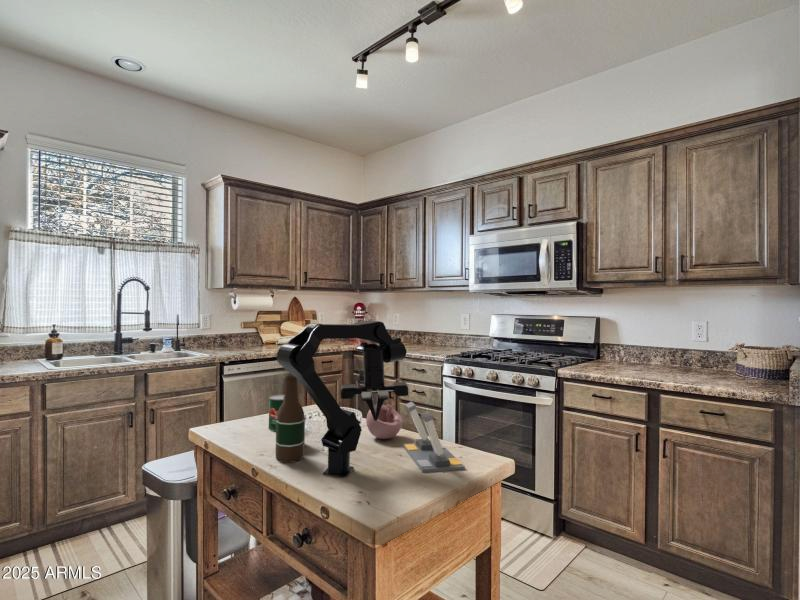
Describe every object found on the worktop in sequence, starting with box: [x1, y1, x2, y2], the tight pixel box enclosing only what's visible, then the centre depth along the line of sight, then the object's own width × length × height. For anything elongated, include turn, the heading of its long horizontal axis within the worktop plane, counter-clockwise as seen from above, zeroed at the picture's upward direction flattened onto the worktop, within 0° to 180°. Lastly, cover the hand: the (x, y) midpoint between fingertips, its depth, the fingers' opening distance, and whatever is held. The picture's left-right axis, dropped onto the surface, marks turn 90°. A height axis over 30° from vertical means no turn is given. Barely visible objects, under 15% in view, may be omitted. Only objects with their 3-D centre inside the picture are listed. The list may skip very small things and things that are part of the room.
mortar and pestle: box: [366, 404, 404, 440], centre depth 149 cm, size 12×12×11 cm
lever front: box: [420, 411, 444, 459], centre depth 125 cm, size 2×4×12 cm, turn 13°
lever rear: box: [405, 401, 430, 443], centre depth 138 cm, size 2×4×12 cm, turn 13°
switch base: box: [402, 438, 466, 473], centre depth 132 cm, size 12×22×2 cm, turn 13°
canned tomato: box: [268, 394, 284, 432], centre depth 158 cm, size 8×8×11 cm
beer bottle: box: [275, 372, 305, 464], centre depth 128 cm, size 8×8×24 cm
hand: (375, 420), depth 127 cm, fingers closed
